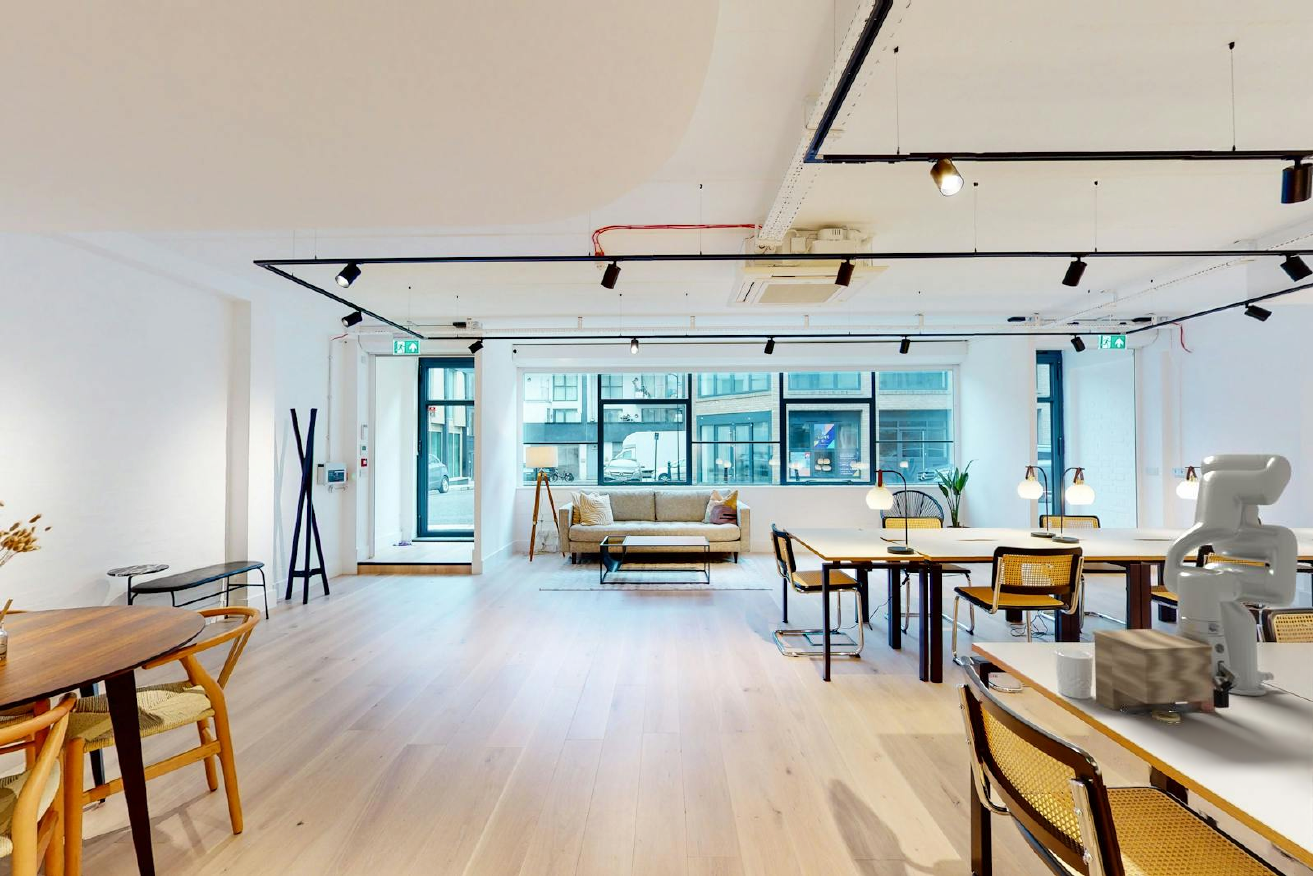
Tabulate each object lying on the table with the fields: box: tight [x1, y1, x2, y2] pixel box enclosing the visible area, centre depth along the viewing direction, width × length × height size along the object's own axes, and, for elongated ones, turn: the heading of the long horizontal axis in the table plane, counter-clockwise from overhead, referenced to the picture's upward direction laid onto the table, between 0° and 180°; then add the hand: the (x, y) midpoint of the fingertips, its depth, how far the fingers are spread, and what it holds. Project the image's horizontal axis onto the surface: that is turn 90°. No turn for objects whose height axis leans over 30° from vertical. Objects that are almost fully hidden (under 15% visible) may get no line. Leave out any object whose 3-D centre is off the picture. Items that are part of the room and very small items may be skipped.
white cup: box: [1054, 648, 1094, 700], centre depth 156 cm, size 8×8×10 cm
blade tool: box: [1120, 683, 1216, 715], centre depth 146 cm, size 21×4×7 cm, turn 96°
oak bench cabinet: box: [1092, 628, 1213, 711], centre depth 145 cm, size 16×14×17 cm
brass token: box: [1151, 710, 1181, 724], centre depth 141 cm, size 5×5×1 cm
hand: (1200, 699), depth 147 cm, fingers open, 9 cm apart
